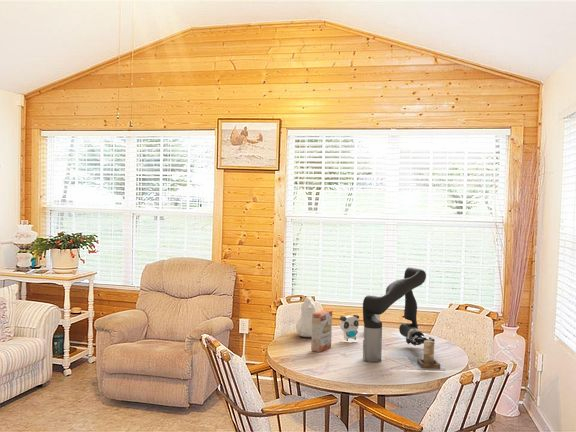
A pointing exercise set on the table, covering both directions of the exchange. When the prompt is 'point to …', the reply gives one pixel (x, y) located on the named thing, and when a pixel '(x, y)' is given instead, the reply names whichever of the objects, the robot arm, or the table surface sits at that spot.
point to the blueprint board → (414, 361)
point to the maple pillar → (428, 352)
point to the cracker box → (321, 330)
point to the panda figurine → (349, 326)
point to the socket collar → (435, 365)
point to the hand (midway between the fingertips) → (423, 343)
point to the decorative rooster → (306, 318)
